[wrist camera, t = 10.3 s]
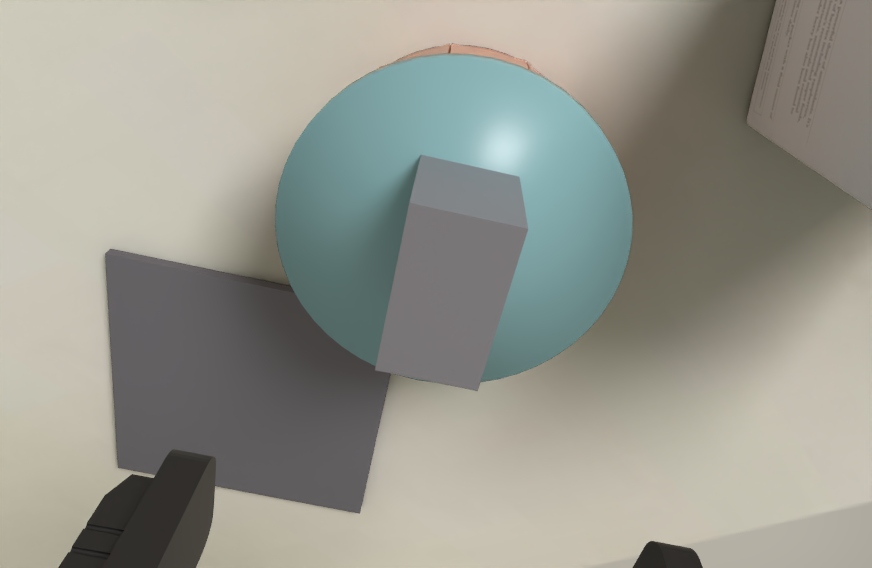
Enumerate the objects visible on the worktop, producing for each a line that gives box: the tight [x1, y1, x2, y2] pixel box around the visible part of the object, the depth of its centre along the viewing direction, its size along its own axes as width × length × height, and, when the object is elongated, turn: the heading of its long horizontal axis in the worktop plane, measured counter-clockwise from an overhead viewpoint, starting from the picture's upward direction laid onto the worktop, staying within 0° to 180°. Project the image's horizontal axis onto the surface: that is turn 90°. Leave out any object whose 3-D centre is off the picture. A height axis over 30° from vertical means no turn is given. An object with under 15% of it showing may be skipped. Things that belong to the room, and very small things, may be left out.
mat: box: [105, 249, 391, 513], centre depth 33 cm, size 14×14×1 cm
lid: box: [275, 53, 633, 391], centre depth 20 cm, size 12×12×5 cm
